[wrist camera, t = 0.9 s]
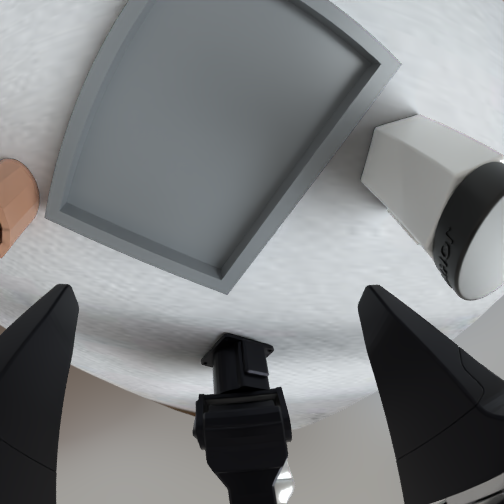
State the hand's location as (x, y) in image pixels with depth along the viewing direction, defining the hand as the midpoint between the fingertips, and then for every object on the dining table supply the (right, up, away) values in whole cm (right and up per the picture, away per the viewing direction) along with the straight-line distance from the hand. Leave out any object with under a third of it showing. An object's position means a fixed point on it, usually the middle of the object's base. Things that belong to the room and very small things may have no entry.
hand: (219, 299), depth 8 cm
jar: (+14, +9, +13) cm, 21 cm away
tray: (-2, +10, +9) cm, 14 cm away
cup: (-20, +6, +10) cm, 23 cm away
